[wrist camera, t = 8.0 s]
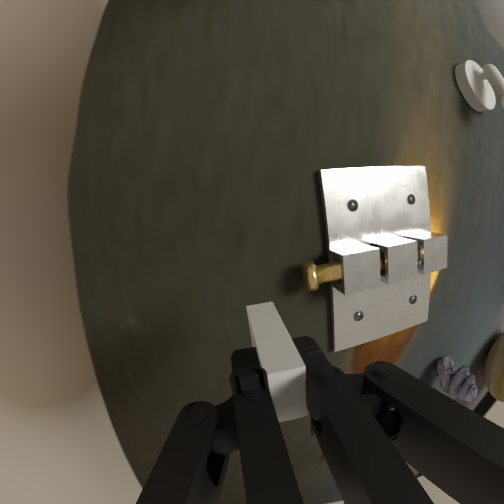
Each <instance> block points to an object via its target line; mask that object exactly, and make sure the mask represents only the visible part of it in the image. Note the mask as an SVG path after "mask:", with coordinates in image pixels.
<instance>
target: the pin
mask: <svg viewBox="0 0 504 504" xmlns="http://www.w3.org/2000/svg"><path fill="white" fill-rule="evenodd" d="M417 251H418V261H421V245H417ZM381 270H385V252H382V253H380V271H381ZM301 275H302V280H303V284H304V287H305V289H306V290H307V291H308V292H309V291H314V290H317V289H318V287H319V284H322V283H327V282H332V281H336V280H341V279H342V276H341V261H337V262H331V263H326V264H321V265H315V263H314V262H313V261H307V262H303V263H302V265H301Z"/></svg>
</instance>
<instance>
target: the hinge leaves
mask: <svg viewBox="0 0 504 504" xmlns="http://www.w3.org/2000/svg"><path fill="white" fill-rule="evenodd" d="M318 176H319V183H320V190H321V198H322V206H323V215H324V224H325V234H326V244H327V255H328V263H331V262H337V261H341V276H342V279H341V280H336V281H332V282H330V299H331V322H332V349H333V350H334V351H335V352H336V351H339V350H343V349H346V348H350V347H353V346H356V345H360V344H363V343H366V342H369V341H372V340H375V339H378V338H381V337H384V336H387V335H390V334H393V333H396V332H398V331H401V330H404V329H407V328H409V327H412V326H414V325H417V324H420V323H422V322H425V321H427V318H428V308H429V295H430V277H431V272H434V271H437V270H441V269H444V268H447V235H445V234H439V233H434V232H431V228H430V210H429V197H428V187H427V178H426V170H425V166H383V167H356V168H338V169H324V170H318ZM367 244H369V245H367ZM417 245H421V261H418V251H417ZM382 252H385V270H381V271H380V253H382Z"/></svg>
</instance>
